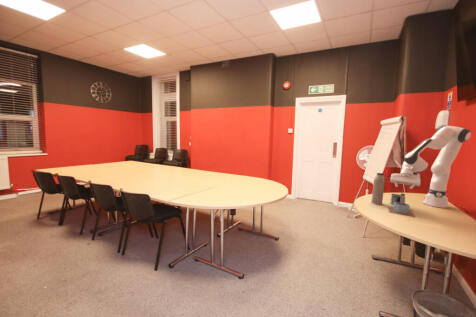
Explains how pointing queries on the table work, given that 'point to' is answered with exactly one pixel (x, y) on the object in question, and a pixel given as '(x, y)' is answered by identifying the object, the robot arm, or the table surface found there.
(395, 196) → the small box
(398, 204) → the utensil crock
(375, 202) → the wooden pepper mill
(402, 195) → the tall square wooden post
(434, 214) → the table surface
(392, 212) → the serving board
